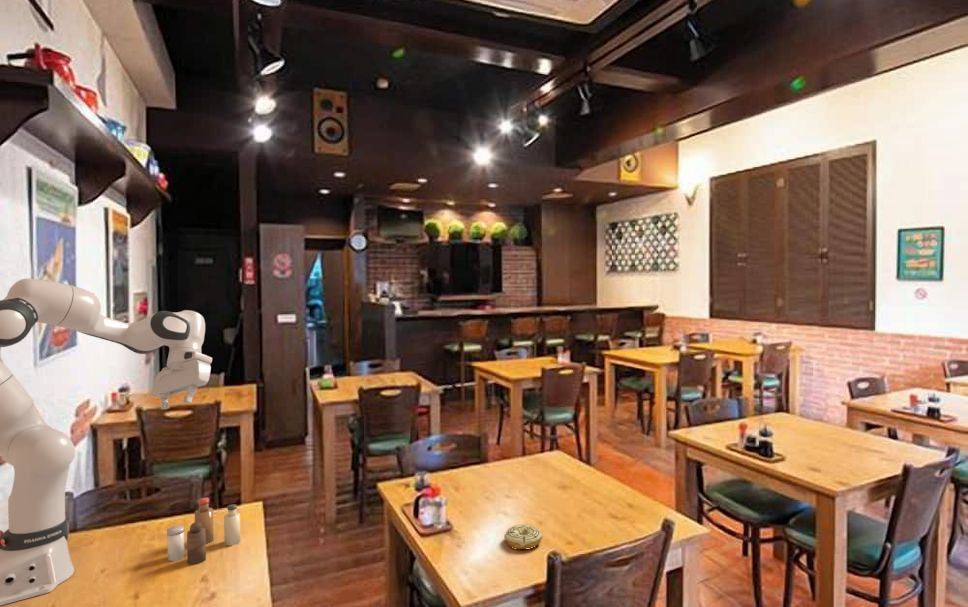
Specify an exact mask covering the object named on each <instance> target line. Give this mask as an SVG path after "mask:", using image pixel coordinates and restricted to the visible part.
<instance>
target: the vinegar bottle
mask: <svg viewBox="0 0 968 607" xmlns="http://www.w3.org/2000/svg"><path fill="white" fill-rule="evenodd" d="M237 507H238V506H237V504H235V503H232V504H229V505H227V511H228V513H227V514H225V515H223V522H224V523H223V531H224V532H223V533H224V534H223V535H224V537H223V538H224V540H223V541H224V546H226V545H228V546H227V547H232V546H231V545H234V546H236V545H235V544H237V545H239V544H240V543H241V513H239V512H237ZM239 542H240V543H239ZM238 543H239V544H238Z"/></svg>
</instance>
